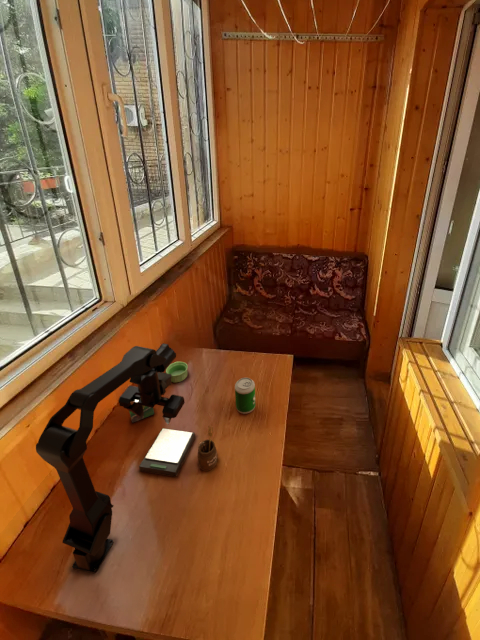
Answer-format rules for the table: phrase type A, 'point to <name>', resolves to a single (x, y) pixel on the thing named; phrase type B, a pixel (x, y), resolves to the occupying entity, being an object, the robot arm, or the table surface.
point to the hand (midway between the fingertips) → (155, 419)
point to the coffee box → (147, 412)
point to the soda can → (245, 395)
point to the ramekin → (177, 371)
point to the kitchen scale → (167, 452)
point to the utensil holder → (207, 453)
